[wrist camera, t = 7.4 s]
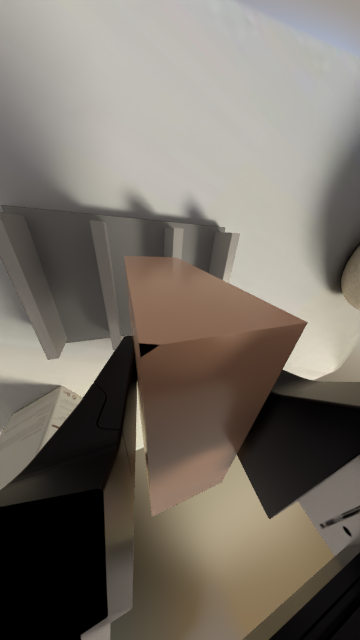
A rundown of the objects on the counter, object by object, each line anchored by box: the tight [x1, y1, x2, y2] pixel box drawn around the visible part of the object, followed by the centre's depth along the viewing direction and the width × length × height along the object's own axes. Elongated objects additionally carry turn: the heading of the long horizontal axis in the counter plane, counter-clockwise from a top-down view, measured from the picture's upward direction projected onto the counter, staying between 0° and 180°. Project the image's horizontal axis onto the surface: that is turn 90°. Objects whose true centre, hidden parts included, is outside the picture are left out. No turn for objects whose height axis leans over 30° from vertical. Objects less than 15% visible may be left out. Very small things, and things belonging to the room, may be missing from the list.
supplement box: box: [0, 386, 82, 490], centre depth 17 cm, size 7×7×13 cm
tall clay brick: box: [124, 256, 308, 516], centre depth 8 cm, size 8×3×8 cm, turn 176°
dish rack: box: [0, 205, 240, 360], centre depth 16 cm, size 12×18×4 cm, turn 86°
